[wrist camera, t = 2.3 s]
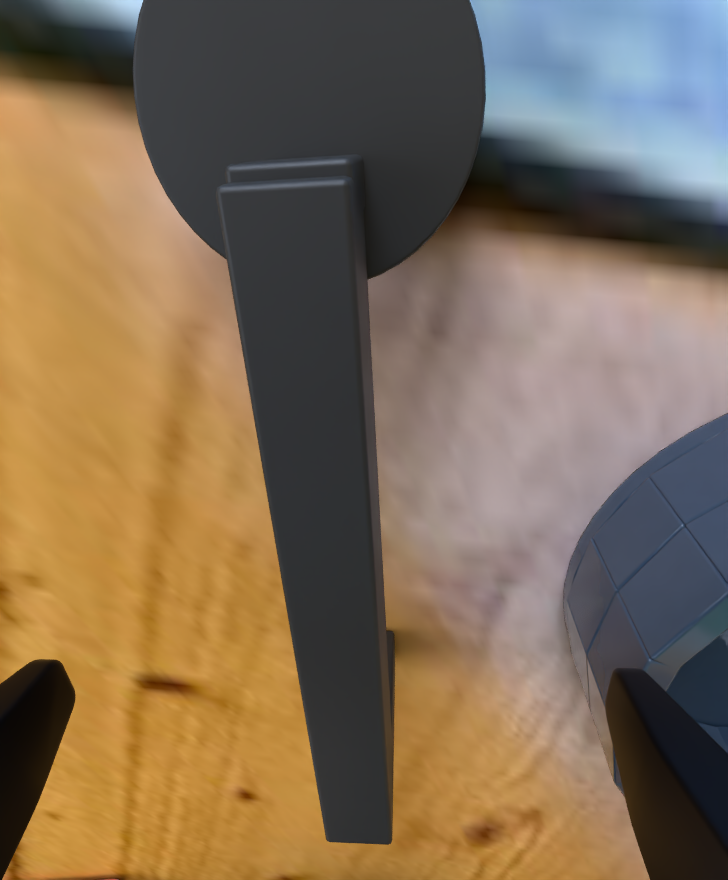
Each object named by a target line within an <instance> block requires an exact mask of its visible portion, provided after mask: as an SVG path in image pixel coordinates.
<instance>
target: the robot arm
mask: <svg viewBox="0 0 728 880" xmlns="http://www.w3.org/2000/svg"><path fill="white" fill-rule="evenodd" d="M74 703H75V690H74V688H73V686H72V683H71V681H70V679H69V677H68V675H67V673H66V671H65V669H64V666H63V665H62V663H61V662H60V661H58V660H44V659H39V660H34V661H32V662H30V663H28V664H27V665H25V666H24V667H23V668H21V669H20V670H19V671H17V672H16V673H15V674H13V675H12V676H11V677H9V678H8V679H6V680H5V681H4V682H2V683H1V684H0V880H2V878H3V876H4V874H5V872H6V870H7V868H8V866H9V864H10V861H11V859H12V857H13V855H14V853H15V851H16V849H17V847H18V844H19V842H20V840H21V838H22V836H23V834H24V832H25V830H26V828H27V825H28V823H29V821H30V819H31V817H32V815H33V812H34V810H35V808H36V806H37V803H38V801H39V799H40V796H41V794H42V791H43V789H44V786H45V783H46V781H47V778H48V775H49V772H50V770H51V767H52V764H53V762H54V759H55V756H56V753H57V751H58V748H59V745H60V743H61V740H62V737H63V734H64V732H65V729H66V726H67V724H68V721H69V718H70V715H71V713H72V710H73V707H74ZM605 713H606V719H607V723H608V727H609V731H610V736H611V740H612V744H613V748H614V753H615V757H616V761H617V765H618V770H619V774H620V778H621V782H622V787H623V791H624V795H625V799H626V803H627V808H628V811H629V815H630V819H631V823H632V827H633V830H634V833H635V836H636V839H637V842H638V845H639V848H640V851H641V854H642V857H643V860H644V863H645V866H646V869H647V872H648V875H649V878H650V880H728V753H727V752H726V751H725V750H724V749H723V748H722V747H721V746H720V745H719V744H718V743H717V742H716V741H715V740H714V739H713V738H712V737H711V736H710V735H709V734H708V733H707V732H706V731H705V730H704V729H703V728H702V727H701V726H700V725H699V724H698V723H697V722H696V721H695V720H694V719H693V718H692V717H691V716H690V715H689V714H688V713H687V712H686V711H685V710H684V709H683V708H682V707H681V706H680V705H679V704H678V703H677V702H676V701H675V700H674V699H673V698H672V697H671V696H670V695H669V694H668V693H667V692H666V691H665V690H664V689H663V688H662V687H661V686H660V685H659V684H658V683H657V682H656V681H655V680H654V679H653V678H652V677H651V676H650V675H649V674H648V673H647V672H645V671H644V670H642V669H639V668H616V669H614V670H613V672H612V675H611V679H610V683H609V688H608V692H607V696H606V701H605Z"/></svg>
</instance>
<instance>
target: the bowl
mask: <svg viewBox="0 0 728 880" xmlns="http://www.w3.org/2000/svg"><path fill="white" fill-rule="evenodd" d="M563 608H564V616H565V624H566V627H567V631H568V634H569V637H570V648H571V653H572V656H573V659H574V662H575V665H576V668H577V672H578V675H579V678H580V681H581V684H582V687H583V690H584V693H585V696H586V699H587V702H588V705H589V708H590V711H591V714H592V717H593V720H594V723H595V726H596V729H597V732H598V735H599V738H600V741H601V744H602V747H603V750H604V753H605V756H606V759H607V763H608V766H609V769H610V772H611V775H612V778H613V781H614V783H615V785H616V786H617V787H618V789H619V790H620V791H621V793H622V794H623V795H624V791H623V787H622V782H621V778H620V774H619V770H618V765H617V761H616V757H615V753H614V748H613V744H612V740H611V736H610V731H609V727H608V723H607V719H606V713H605V701H606V696H607V692H608V688H609V683H610V679H611V675H612V672H613V670H614V669H616V668H639V669H642V670H644V671H645V672H647V673H648V674H649V675H650V676H651V677H652V678H653V679H654V680H655V681H656V682H657V683H658V684H659V685H660V686H661V687H662V688H663V689H664V690H665V691H666V692H667V693H668V694H669V695H670V696H671V697H672V698H673V699H674V700H675V701H676V702H677V703H678V704H679V705H680V706H681V707H682V708H683V709H684V710H685V711H686V712H687V713H688V714H689V715H690V716H691V717H692V718H693V719H694V720H695V721H696V722H697V723H698V724H699V725H700V726H701V727H702V728H703V729H704V730H705V731H706V732H707V733H708V734H709V735H710V736H711V737H712V738H713V739H714V740H715V741H716V742H717V743H718V744H719V745H720V746H721V747H722V748H723V749H724V750H725V751H726V752H727V753H728V413H727V414H725V415H723V416H721V417H719V418H717V419H715V420H713V421H711V422H709V423H707V424H705V425H703V426H701V427H699V428H697V429H695V430H693V431H691V432H690V433H688V434H686V435H685V436H683V437H682V438H680V439H679V440H677V441H676V442H674V443H672V444H671V445H669V446H668V447H666V448H665V449H663V450H661V451H660V452H659V453H657V454H656V455H655V456H654V457H652V458H651V459H650V460H649V461H647V462H646V463H645V464H643V465H642V466H641V467H640V468H638V469H637V470H636V471H635V472H633V473H632V474H631V475H630V476H629V477H628V478H627V479H626V480H625V481H624V482H623V483H622V484H621V485H620V486H619V487H618V488H617V489H616V490H615V491H614V492H613V493H612V494H611V495H610V496H609V498H608V499H607V500H606V501H605V503H604V504H603V505H602V506H601V508H600V509H599V510H598V511H597V513H596V514H595V515H594V516H593V518H592V520H591V521H590V523H589V525H588V526H587V528H586V530H585V531H584V533H583V534H582V536H581V538H580V539H579V542H578V544H577V546H576V549H575V551H574V554H573V556H572V558H571V561H570V564H569V568H568V572H567V576H566V580H565V584H564V599H563ZM624 797H625V795H624Z"/></svg>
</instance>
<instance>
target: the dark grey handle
mask: <svg viewBox="0 0 728 880" xmlns="http://www.w3.org/2000/svg"><path fill="white" fill-rule="evenodd" d="M133 81H134V98H135V104H136V110H137V116H138V122H139V126H140V130H141V133H142V137H143V140H144V144H145V148H146V150H147V153H148V156H149V158H150V161H151V163H152V166H153V168H154V171H155V173H156V175H157V177H158V179H159V181H160V183H161V185H162V187H163V189H164V190H165V192H166V194H167V196H168V197H169V199H170V200H171V202H172V203H173V205H174V206H175V208H176V209H177V211H178V212H179V214H180V215H181V216H182V218H183V219H184V220H185V221H186V222H187V224H188V225H189V226H190V227H191V228H192V230H193V231H194V232H195V233H196V234H197V235H198V236H199V237H200V238H201V239H202V240H203V241H204V242H206V243H207V244H208V245H209V246H210V247H211V248H212V249H213V250H215V251H216V252H217V253H219V254H220V255H221V256H223V257H224V258H225V259H227V263H228V269H229V275H230V280H231V286H232V292H233V298H234V304H235V310H236V315H237V321H238V327H239V333H240V339H241V345H242V350H243V356H244V362H245V368H246V374H247V380H248V385H249V391H250V397H251V403H252V409H253V415H254V420H255V426H256V432H257V438H258V444H259V450H260V455H261V461H262V467H263V473H264V479H265V485H266V491H267V496H268V502H269V508H270V514H271V520H272V526H273V531H274V537H275V543H276V549H277V555H278V561H279V566H280V572H281V578H282V584H283V590H284V596H285V601H286V607H287V613H288V619H289V625H290V631H291V636H292V642H293V648H294V654H295V660H296V666H297V671H298V677H299V683H300V689H301V695H302V701H303V706H304V712H305V718H306V724H307V730H308V736H309V741H310V747H311V753H312V759H313V765H314V771H315V776H316V782H317V788H318V794H319V800H320V806H321V811H322V817H323V823H324V829H325V835H326V840H327V841H329V842H341V843H365V844H391V842H392V821H393V760H394V700H395V640H394V633H393V632H392V631H386V617H385V598H384V580H383V561H382V543H381V524H380V505H379V487H378V468H377V450H376V431H375V412H374V394H373V375H372V357H371V338H370V319H369V301H368V282H367V280H368V279H371V278H373V277H376V276H378V275H381V274H383V273H385V272H386V271H388V270H390V269H392V268H393V267H395V266H397V265H399V264H400V263H402V262H403V261H404V260H406V259H407V258H408V257H410V256H411V255H412V254H414V253H415V252H416V251H417V250H418V249H419V248H420V247H421V246H423V245H424V244H425V243H426V242H427V241H428V240H429V239H430V238H431V237H432V236H433V234H434V233H435V232H436V231H437V230H438V228H439V227H440V226H441V225H442V223H443V222H444V221H445V220H446V218H447V217H448V215H449V213H450V212H451V210H452V209H453V207H454V205H455V204H456V202H457V201H458V199H459V197H460V195H461V193H462V191H463V189H464V186H465V184H466V182H467V180H468V178H469V176H470V173H471V170H472V167H473V164H474V161H475V158H476V155H477V152H478V147H479V142H480V138H481V133H482V128H483V120H484V110H485V100H486V91H485V65H484V57H483V50H482V42H481V38H480V34H479V30H478V26H477V22H476V18H475V14H474V11H473V9H472V6H471V3H470V1H469V0H143V3H142V7H141V10H140V13H139V18H138V24H137V30H136V36H135V42H134V59H133Z"/></svg>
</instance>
